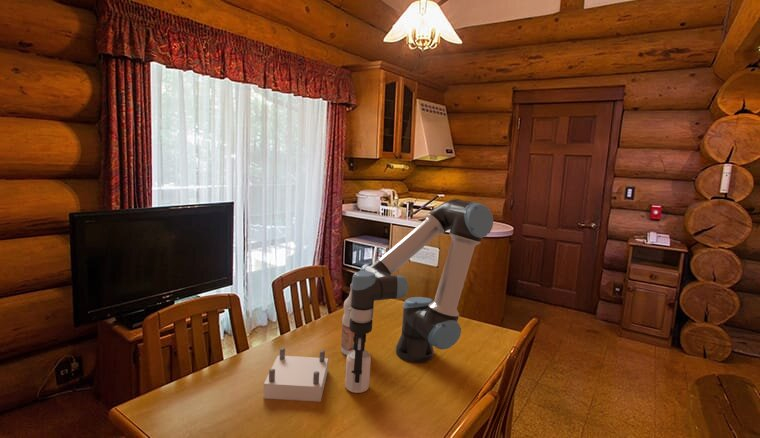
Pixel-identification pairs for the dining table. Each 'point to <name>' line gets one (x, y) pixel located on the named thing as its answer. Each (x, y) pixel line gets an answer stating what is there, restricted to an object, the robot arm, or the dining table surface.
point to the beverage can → (365, 371)
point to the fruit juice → (347, 328)
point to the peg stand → (296, 378)
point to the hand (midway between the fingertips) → (357, 382)
